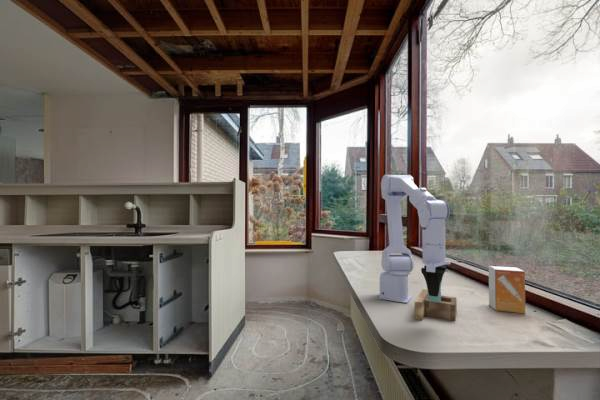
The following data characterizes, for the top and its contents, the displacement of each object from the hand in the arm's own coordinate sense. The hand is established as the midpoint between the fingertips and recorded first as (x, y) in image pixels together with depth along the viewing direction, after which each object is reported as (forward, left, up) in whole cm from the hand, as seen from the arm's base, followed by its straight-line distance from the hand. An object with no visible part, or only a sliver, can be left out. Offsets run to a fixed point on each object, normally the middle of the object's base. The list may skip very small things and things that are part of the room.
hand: (434, 294), depth 77 cm
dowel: (0, 0, -2) cm, 2 cm away
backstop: (-4, +10, -9) cm, 14 cm away
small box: (+18, +27, -9) cm, 34 cm away
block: (+1, +11, -9) cm, 14 cm away
